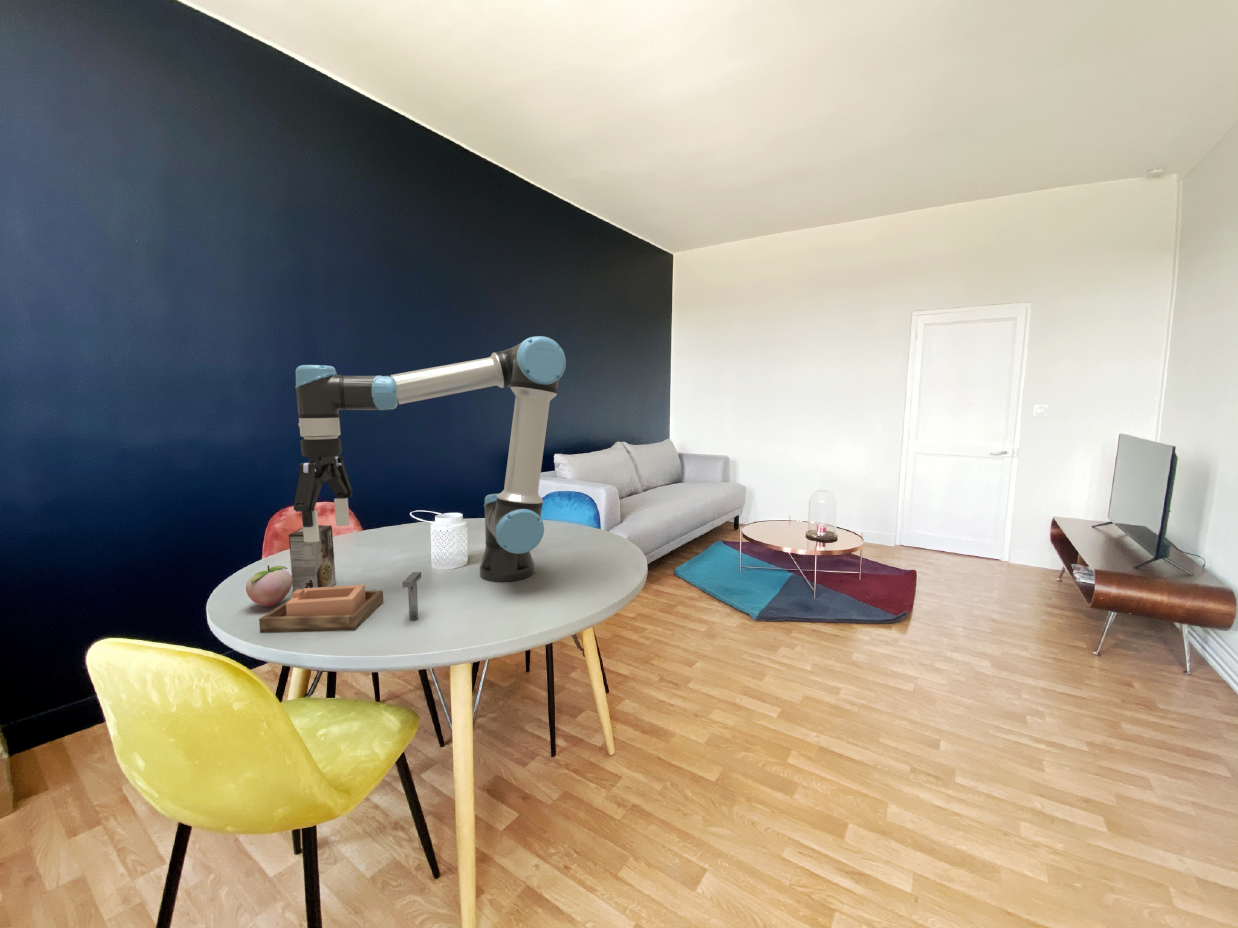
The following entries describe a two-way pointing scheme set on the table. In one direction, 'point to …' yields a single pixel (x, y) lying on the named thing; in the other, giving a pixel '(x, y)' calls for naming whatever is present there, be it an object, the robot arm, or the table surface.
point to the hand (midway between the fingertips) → (328, 533)
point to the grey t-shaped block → (412, 594)
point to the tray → (320, 618)
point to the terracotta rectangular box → (326, 601)
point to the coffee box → (312, 560)
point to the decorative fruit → (269, 586)
